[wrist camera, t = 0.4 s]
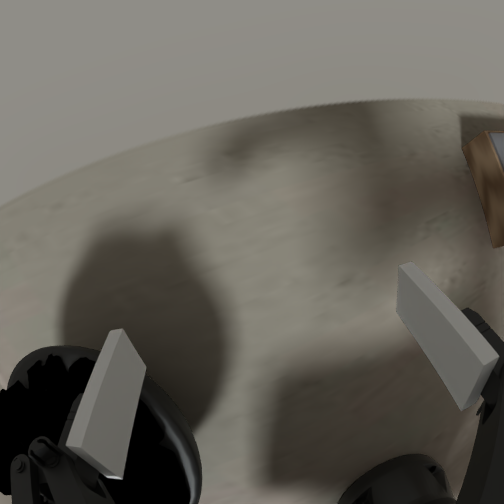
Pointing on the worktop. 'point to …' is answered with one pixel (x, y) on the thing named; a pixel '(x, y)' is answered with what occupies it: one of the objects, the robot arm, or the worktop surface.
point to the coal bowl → (142, 436)
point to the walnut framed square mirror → (489, 179)
